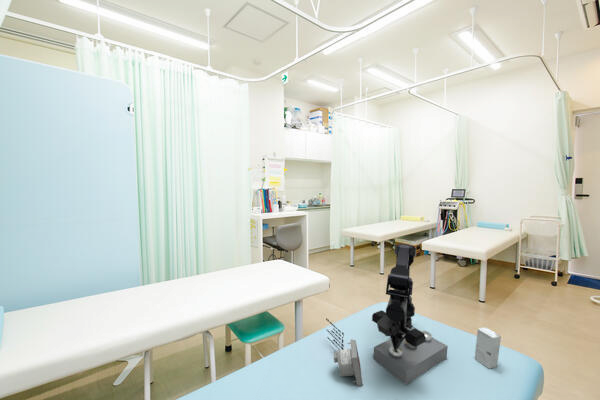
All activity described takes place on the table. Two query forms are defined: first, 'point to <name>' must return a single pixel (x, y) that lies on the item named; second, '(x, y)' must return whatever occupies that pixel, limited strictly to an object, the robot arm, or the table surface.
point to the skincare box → (487, 347)
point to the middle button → (410, 346)
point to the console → (410, 358)
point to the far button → (427, 336)
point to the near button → (395, 352)
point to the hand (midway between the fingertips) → (395, 349)
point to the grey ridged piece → (347, 358)
